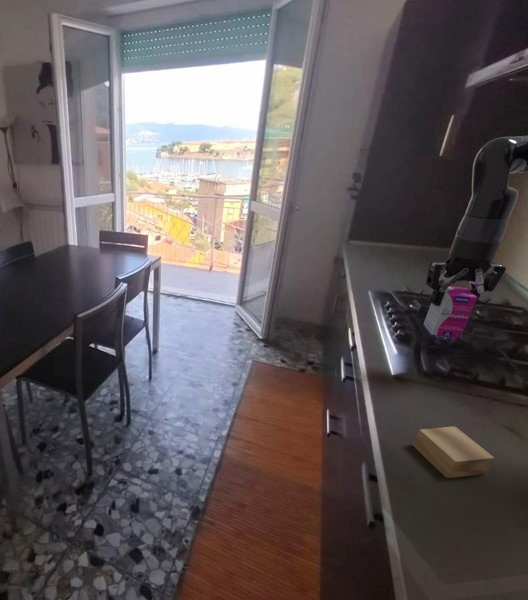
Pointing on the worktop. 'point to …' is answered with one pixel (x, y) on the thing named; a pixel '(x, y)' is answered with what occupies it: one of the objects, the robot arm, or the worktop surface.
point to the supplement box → (450, 313)
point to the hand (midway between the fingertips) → (451, 305)
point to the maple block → (452, 452)
